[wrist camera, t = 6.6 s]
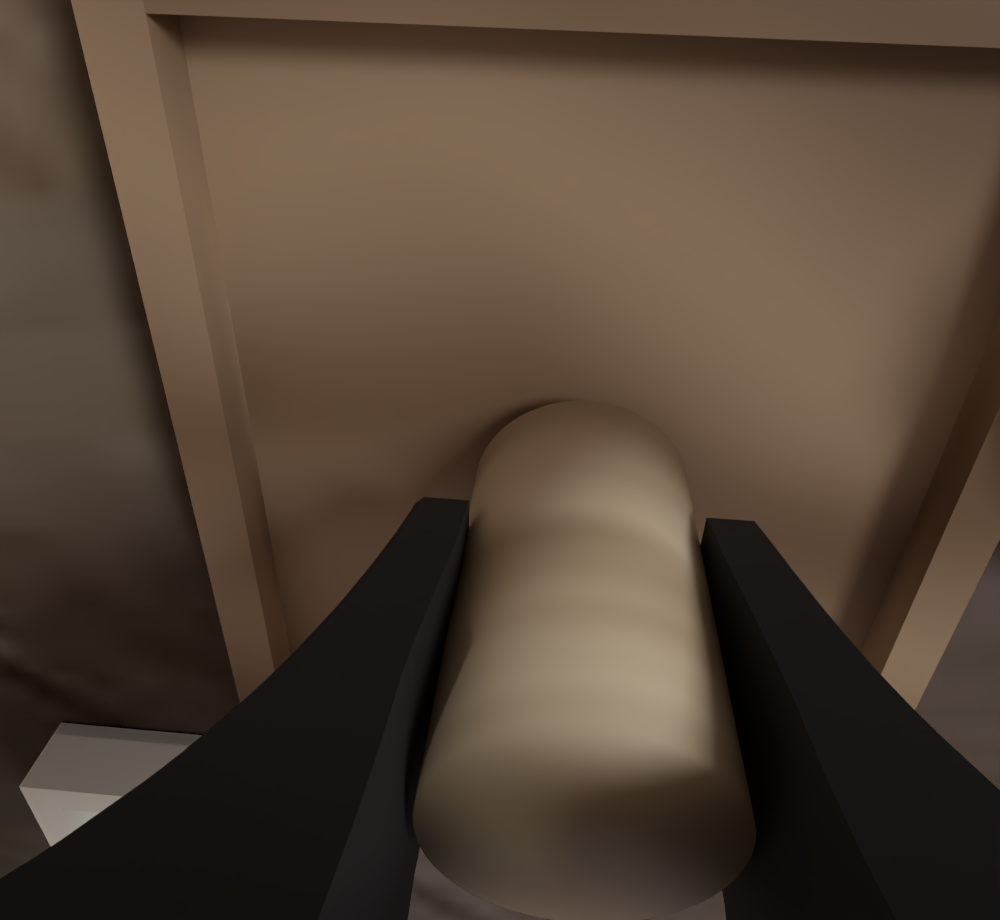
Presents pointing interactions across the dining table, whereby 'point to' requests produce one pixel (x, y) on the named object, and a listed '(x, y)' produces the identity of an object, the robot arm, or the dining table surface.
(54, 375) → the dining table surface
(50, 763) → the holder
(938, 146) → the tray
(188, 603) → the dining table surface
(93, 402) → the dining table surface
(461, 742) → the dowel
